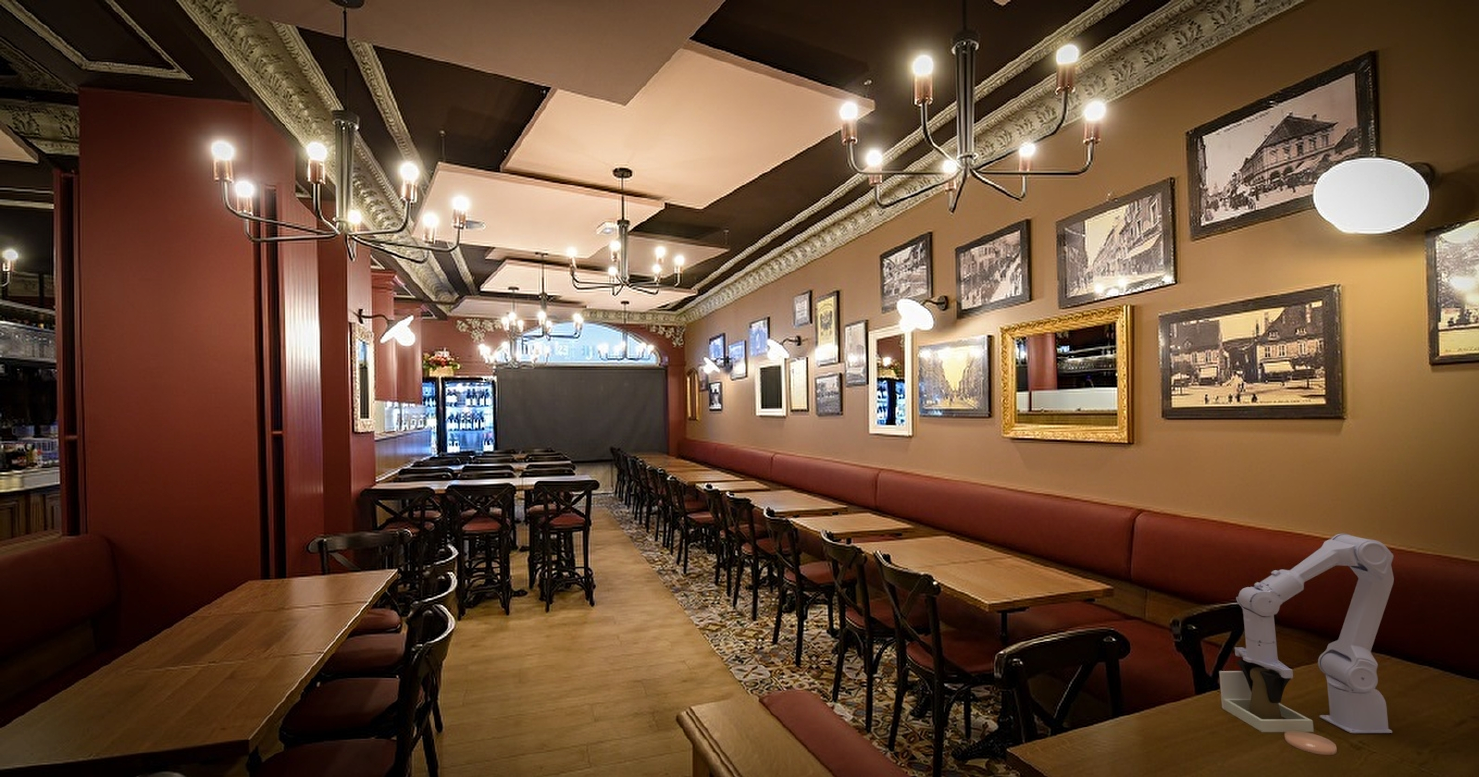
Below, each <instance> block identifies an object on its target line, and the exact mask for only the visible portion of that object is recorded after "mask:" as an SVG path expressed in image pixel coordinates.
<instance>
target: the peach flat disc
mask: <svg viewBox="0 0 1479 777" xmlns="http://www.w3.org/2000/svg"><path fill="white" fill-rule="evenodd" d="M1284 740H1285V742H1286V743H1287V744H1289V745H1290V746H1293V747H1294V748H1296V749H1299V750H1301V751H1303V752H1308V753H1311V754H1317V755H1322V756H1330V755H1335V754H1337V753H1338V752H1337V751H1338V748H1337V744H1335V742H1333V741H1332V740H1330V739H1328V738H1326V737H1324V736H1321V735H1318V734H1316V733H1313V732H1302V731H1287V732H1284Z"/></svg>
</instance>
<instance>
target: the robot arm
mask: <svg viewBox="0 0 1479 777" xmlns="http://www.w3.org/2000/svg"><path fill="white" fill-rule="evenodd" d="M1393 560H1394V554H1393V553H1392V552H1391V550H1390V549H1389V548H1388V546H1386V545H1385V544H1384V543H1382V542H1381V541H1379V540H1377V539H1376V540H1375V539H1369V538H1363V537H1359V536H1355V535H1351V534H1348V533H1338V534H1335V535H1334V536H1332V537H1331V538H1329V539H1328V540H1325V541H1323V544H1322V546H1321V547H1320V548H1318V549H1317V550H1316V551H1314V552H1313V553H1312V554H1310V555H1309V556H1307V557H1306V558H1305V559H1303V560H1302V561H1301V562H1300V563H1299V562H1298V564H1297V565H1295V566H1293V567H1292V568H1291V569H1279V570H1278V569H1277V570H1276V569H1275V570H1272V571H1270V573H1271V575H1269V576H1268V577H1266V578H1264V579H1262V580H1261V581H1260V582H1258V581H1256V582H1255V583H1254V584H1253V585H1254V586H1250V587H1249V586H1247V587H1244V588H1242V589H1241V590H1239V593H1238V596H1236V597H1235V599H1236V600H1235V601H1237V604H1238V605H1239V606H1240V607H1241V609H1242V614H1243V624H1244V637H1245V638H1244V639H1245V647H1241V646H1240V647H1234V654H1235V656H1236V657H1238V658H1239V657H1242V658H1241V660H1240V659H1238V660H1236V664H1237V665H1238V667H1239V668H1240V669H1241V670H1240V671H1243V673H1244V675H1245V677H1246V680H1247V682H1248V685H1249V688H1250V690H1251V692H1252V686H1253V680H1252V679H1251V677H1250V670H1251V669H1252V668H1256V667H1258V668H1265V669H1268V670H1269V671H1260V674H1261V675H1262V677H1263V679H1264V682H1265V684H1266V688H1267V694H1268V698H1269V701H1270V702H1271V703H1280V704H1282V703H1281V702H1282V700H1283V699H1282V698H1283V694H1284V691H1285V689H1286V686H1287V684H1288V683H1289V682H1290V681H1291V679H1294V672H1293V669H1292V668H1289V667H1288V666H1287V665H1285V664H1284V663H1283V662H1282V661H1280V660H1279V658H1278V648H1277V637H1276V626H1275V615H1277V614H1278V612H1279V611H1280V608H1281V605H1283V603H1285V602H1286V601H1288V600H1290V599H1291V598H1293V597H1294V596H1295V595H1296V596H1297V595H1298V594H1299V593H1301V592H1302V591H1304V589H1305V587H1304V586H1305V582H1307V581H1309V580H1311V579H1313V578H1314V577H1316V576H1319V575H1320V574H1322V573H1324V572H1326V571H1328V570H1329V569H1332V568H1334V567H1335V566H1345V567H1347V566H1348V567H1349V568H1350V569H1351V570H1352V571H1353V573H1354V575H1356V576H1357V578H1358V580H1357V581H1356V585H1355V589H1354V592H1353V594H1352V597H1351V599H1350V600H1351V601H1350V604H1349V607H1348V609H1347V613H1346V615H1345V618H1344V622H1343V625H1342V628H1341V631H1340V634H1339V637H1338V639H1337V640H1335V641H1332V642H1330V643H1328V645H1327V647H1326V649H1325V651H1324V652H1322V653H1321V654H1320V655H1319V657H1318V659H1317V665H1318V668H1319V670H1320V671H1321V672H1322V673H1323V674H1324V675H1325V679H1326V684H1327V696H1328V706H1329V707H1328V708H1329V714H1325V715H1324V714H1321V715H1319V718H1321V719H1322V720H1324V721H1326V722H1328V723H1330V724H1332V725H1334V726H1336V727H1338V728H1340V729H1341V730H1344V731H1346V732H1348V733H1350V734H1390V733H1391V734H1393V730H1392V729H1390V728H1389V721H1388V720H1389V719H1388V709H1387V702H1386V699H1385V698H1384V695H1382V693H1381V692H1380V691H1379V690H1378V689H1376V687H1377V685H1378V683H1379V682H1378V681H1379V678H1378V674H1377V670H1378V666H1379V664H1378V662H1377V660H1376V658H1375V657H1374V656H1373V654H1372V648H1373V645H1374V643H1375V639H1376V636H1377V633H1378V631H1379V627H1380V624H1381V621H1382V619H1383V615H1384V612H1385V609H1386V606H1387V603H1388V600H1389V598H1390V594H1391V591H1392V589H1393V585H1394V580H1395V578H1394V573H1393V567H1392V562H1393Z"/></svg>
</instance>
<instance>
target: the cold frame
mask: <svg viewBox="0 0 1479 777" xmlns="http://www.w3.org/2000/svg"><path fill="white" fill-rule="evenodd" d="M1218 674H1219V687H1220V698H1221V699H1220V700H1221V708H1222V710H1224V711H1226V712H1228V713H1229V714H1231V715H1233V716H1235V717H1236V718H1238V719H1240V720H1241V721H1243V722H1245V723H1246V724H1247V725H1249V726H1251V727H1252V728H1254V729H1256V730H1258V731H1259V732H1261V733H1285V732H1287V731H1302V732H1308V733H1314V732H1315V731H1314V721H1313V720H1312V719H1311V718H1308V717H1307V716H1305V715H1303V714H1301V713H1299V712H1297V711H1295V710H1293V709H1291V708H1289V707H1287V706H1285V705H1284V704H1282V703H1279V707H1280V712H1281V718H1282V717H1283V718H1282V719H1260V718H1259V717H1257V716H1255V715H1254V714H1252V713H1250V712H1249V709H1250V702H1251V694H1252V692H1251V690H1250V688H1249V685H1248V682H1247V680H1246V677H1245V675H1244V673H1243V671H1242V670H1226V671H1225V670H1223V671H1222V670H1218Z"/></svg>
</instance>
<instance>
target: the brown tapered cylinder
mask: <svg viewBox="0 0 1479 777" xmlns="http://www.w3.org/2000/svg"><path fill="white" fill-rule="evenodd" d="M1260 671H1269V669H1267V668H1258V667H1256V668H1252V669H1251V670H1250V677H1251V679H1252V680H1253V686H1252V694H1251V702H1250V709H1249V711H1248V712H1250V713H1252V714H1254V715H1255V716H1257V717H1259V718H1260V719H1283V718H1282V716H1281V712H1280V707H1279V703H1271V702H1270V701H1269V698H1268V694H1267V688H1266V684H1265V682H1264V679H1263V677H1262V675H1261V674H1260Z"/></svg>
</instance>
